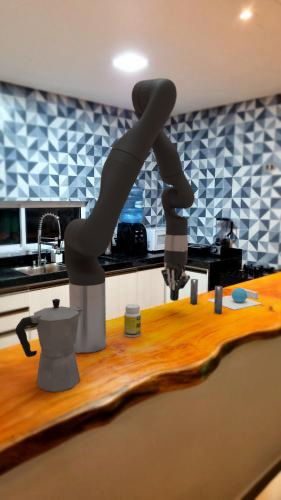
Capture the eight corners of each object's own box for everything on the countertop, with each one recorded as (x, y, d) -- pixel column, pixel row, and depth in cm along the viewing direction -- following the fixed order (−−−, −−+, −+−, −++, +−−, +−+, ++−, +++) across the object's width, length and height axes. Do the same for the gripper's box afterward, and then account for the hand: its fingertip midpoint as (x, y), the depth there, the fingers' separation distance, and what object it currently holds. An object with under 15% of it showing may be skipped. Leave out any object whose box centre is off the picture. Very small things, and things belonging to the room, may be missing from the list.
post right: (217, 314, 122) (218, 288, 120) (212, 312, 124) (213, 286, 123) (223, 313, 123) (224, 287, 122) (218, 311, 125) (219, 285, 124)
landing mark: (234, 310, 127) (234, 309, 127) (206, 300, 138) (206, 299, 138) (261, 304, 134) (261, 303, 134) (233, 295, 146) (233, 294, 146)
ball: (249, 303, 135) (239, 304, 132) (239, 300, 139) (228, 301, 137) (250, 288, 134) (239, 289, 132) (239, 286, 139) (228, 287, 136)
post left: (193, 305, 132) (193, 280, 131) (188, 303, 135) (189, 279, 133) (198, 304, 134) (199, 279, 132) (194, 302, 136) (194, 278, 135)
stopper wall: (255, 299, 140) (255, 293, 140) (237, 294, 148) (237, 288, 147) (257, 298, 141) (258, 292, 140) (240, 293, 148) (240, 287, 148)
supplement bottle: (138, 338, 101) (139, 308, 100) (122, 337, 102) (122, 307, 101) (142, 332, 106) (142, 304, 105) (126, 330, 107) (126, 303, 106)
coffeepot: (72, 364, 86) (70, 289, 83) (97, 378, 79) (95, 297, 76) (8, 387, 75) (4, 302, 72) (30, 406, 68) (26, 313, 66)
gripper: (154, 246, 123) (153, 297, 125) (179, 251, 112) (177, 306, 114) (172, 245, 127) (171, 294, 129) (198, 250, 116) (196, 303, 118)
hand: (174, 300), depth 121 cm, fingers closed
